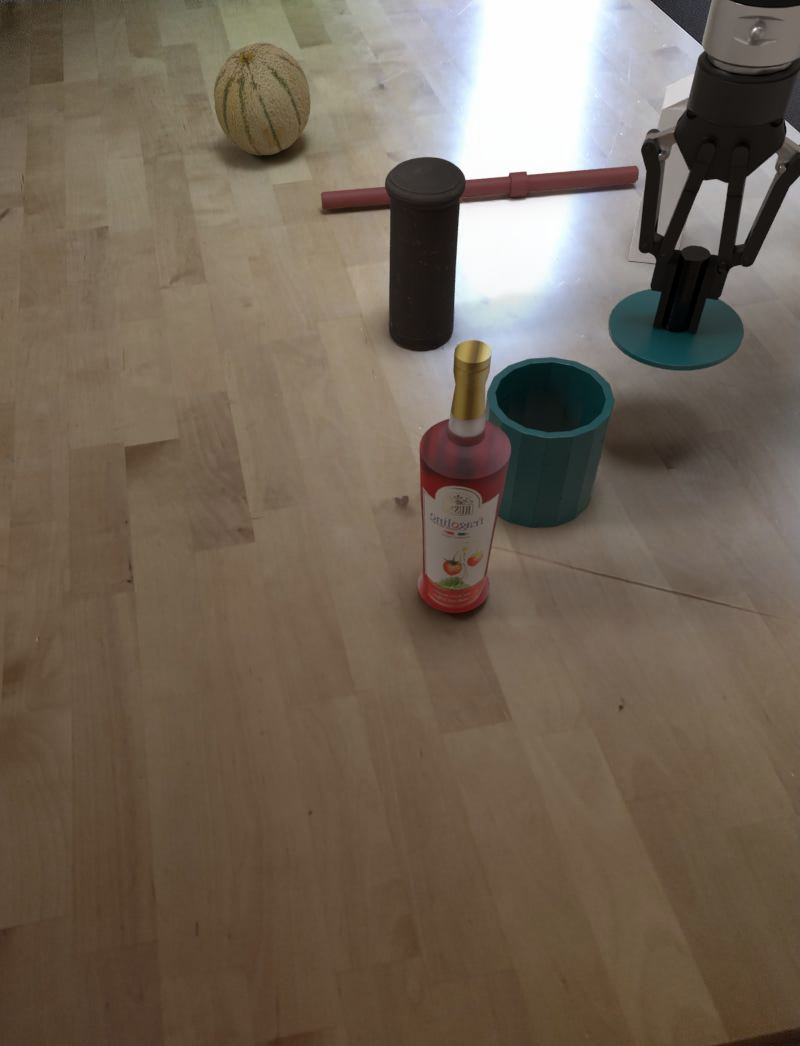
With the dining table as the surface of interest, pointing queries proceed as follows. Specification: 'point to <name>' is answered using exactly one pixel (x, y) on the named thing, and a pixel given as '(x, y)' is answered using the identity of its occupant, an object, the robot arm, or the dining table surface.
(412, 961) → the dining table surface
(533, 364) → the teal pot
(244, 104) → the cantaloupe
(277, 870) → the dining table surface
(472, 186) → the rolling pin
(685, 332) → the teal lid
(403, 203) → the container
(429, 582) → the liquor
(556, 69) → the dining table surface
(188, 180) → the dining table surface
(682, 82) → the milk
